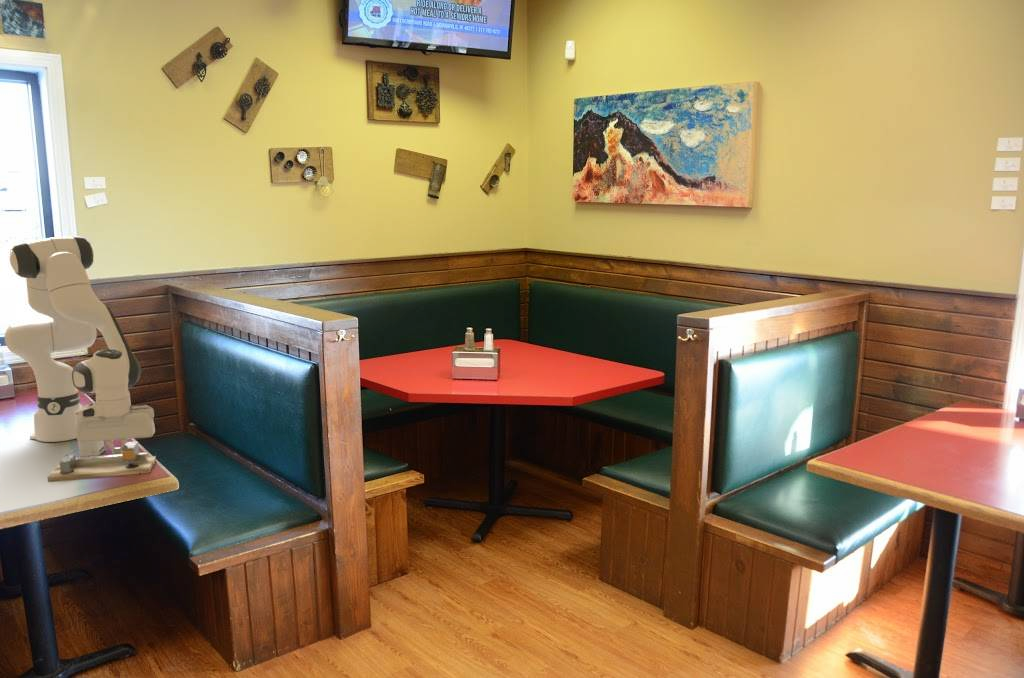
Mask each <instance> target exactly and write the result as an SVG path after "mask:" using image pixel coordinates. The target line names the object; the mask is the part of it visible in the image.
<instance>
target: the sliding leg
mask: <svg viewBox="0 0 1024 678" xmlns="http://www.w3.org/2000/svg"><path fill="white" fill-rule="evenodd" d="M139 448H140V447H139V441H137V440H135V441H127V442H126V444H125V446H124V447H123V448H122V459H123V461H128V466H133V463H132V460H135V458H136V457H137V455H138V454H139V453H140V449H139Z"/></svg>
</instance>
